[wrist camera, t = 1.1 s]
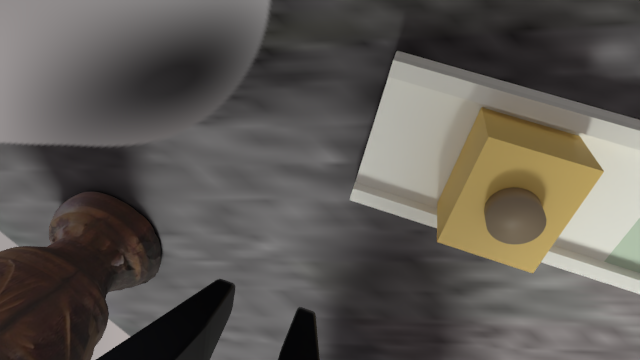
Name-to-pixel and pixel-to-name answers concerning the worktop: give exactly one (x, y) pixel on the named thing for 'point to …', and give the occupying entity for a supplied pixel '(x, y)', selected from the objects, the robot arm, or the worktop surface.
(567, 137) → the carriage
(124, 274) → the mortar and pestle
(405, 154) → the rail
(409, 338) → the worktop surface
